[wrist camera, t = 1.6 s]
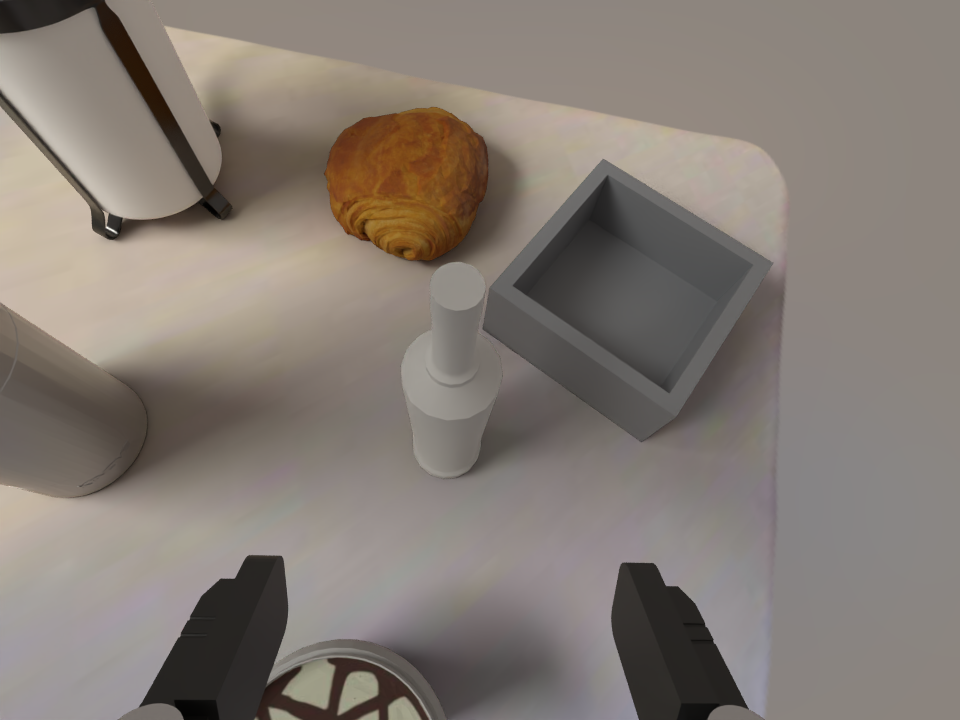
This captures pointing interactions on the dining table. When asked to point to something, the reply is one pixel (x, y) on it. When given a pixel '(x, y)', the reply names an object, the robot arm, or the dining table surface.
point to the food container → (347, 685)
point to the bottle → (451, 375)
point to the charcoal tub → (624, 299)
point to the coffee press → (109, 107)
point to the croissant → (408, 181)
